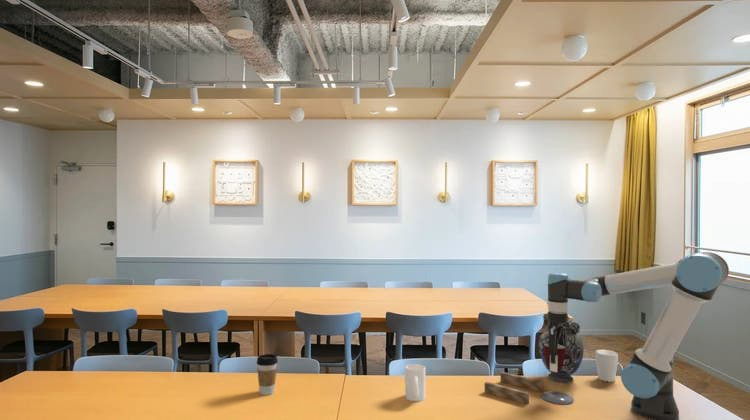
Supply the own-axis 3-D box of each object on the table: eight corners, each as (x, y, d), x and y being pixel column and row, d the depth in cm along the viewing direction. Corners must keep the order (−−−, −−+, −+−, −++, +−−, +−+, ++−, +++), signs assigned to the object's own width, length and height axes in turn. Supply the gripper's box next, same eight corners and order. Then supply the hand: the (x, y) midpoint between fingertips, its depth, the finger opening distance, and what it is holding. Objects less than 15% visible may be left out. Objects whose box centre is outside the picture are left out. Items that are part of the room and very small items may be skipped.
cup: (597, 381, 199) (597, 354, 199) (593, 374, 207) (593, 348, 207) (620, 384, 196) (620, 356, 196) (615, 376, 205) (615, 350, 205)
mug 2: (568, 369, 184) (568, 344, 184) (574, 375, 176) (574, 349, 177) (541, 367, 186) (542, 342, 186) (546, 373, 178) (546, 347, 178)
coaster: (577, 397, 181) (577, 396, 181) (568, 407, 172) (568, 406, 172) (547, 390, 189) (547, 388, 189) (537, 398, 180) (537, 397, 180)
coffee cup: (251, 394, 183) (252, 357, 183) (266, 387, 190) (266, 351, 190) (267, 398, 179) (268, 360, 179) (281, 390, 186) (281, 354, 186)
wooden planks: (543, 391, 188) (543, 381, 188) (527, 404, 174) (527, 394, 174) (502, 380, 199) (502, 371, 199) (484, 392, 186) (484, 382, 186)
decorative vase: (596, 384, 195) (595, 319, 196) (563, 390, 189) (562, 323, 189) (559, 368, 215) (558, 310, 215) (528, 374, 208) (527, 313, 209)
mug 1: (403, 405, 173) (404, 373, 173) (405, 392, 185) (405, 363, 185) (425, 406, 172) (425, 374, 172) (425, 393, 184) (425, 364, 184)
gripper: (556, 306, 191) (556, 359, 191) (538, 314, 175) (538, 373, 175) (575, 308, 186) (574, 363, 186) (558, 317, 170) (558, 377, 170)
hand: (557, 368), depth 181 cm, fingers closed on mug 2, 8 cm apart
